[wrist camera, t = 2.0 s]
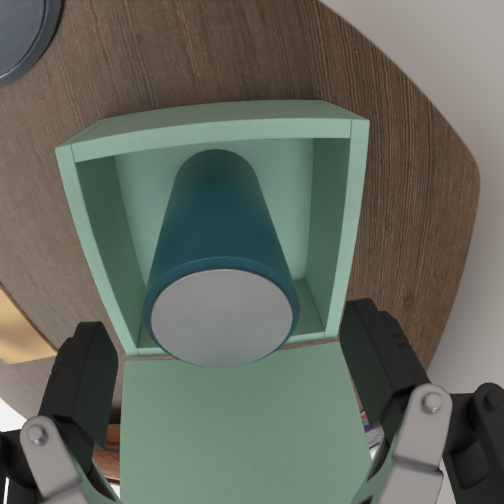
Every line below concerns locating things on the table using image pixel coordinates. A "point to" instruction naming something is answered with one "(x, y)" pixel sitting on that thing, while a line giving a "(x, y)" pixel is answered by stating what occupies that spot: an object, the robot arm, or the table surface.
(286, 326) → the can
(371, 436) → the pill bottle
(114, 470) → the bowl
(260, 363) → the cool box lid
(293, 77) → the table surface
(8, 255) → the table surface
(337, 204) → the cool box
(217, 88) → the table surface
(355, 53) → the table surface
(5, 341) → the coaster
